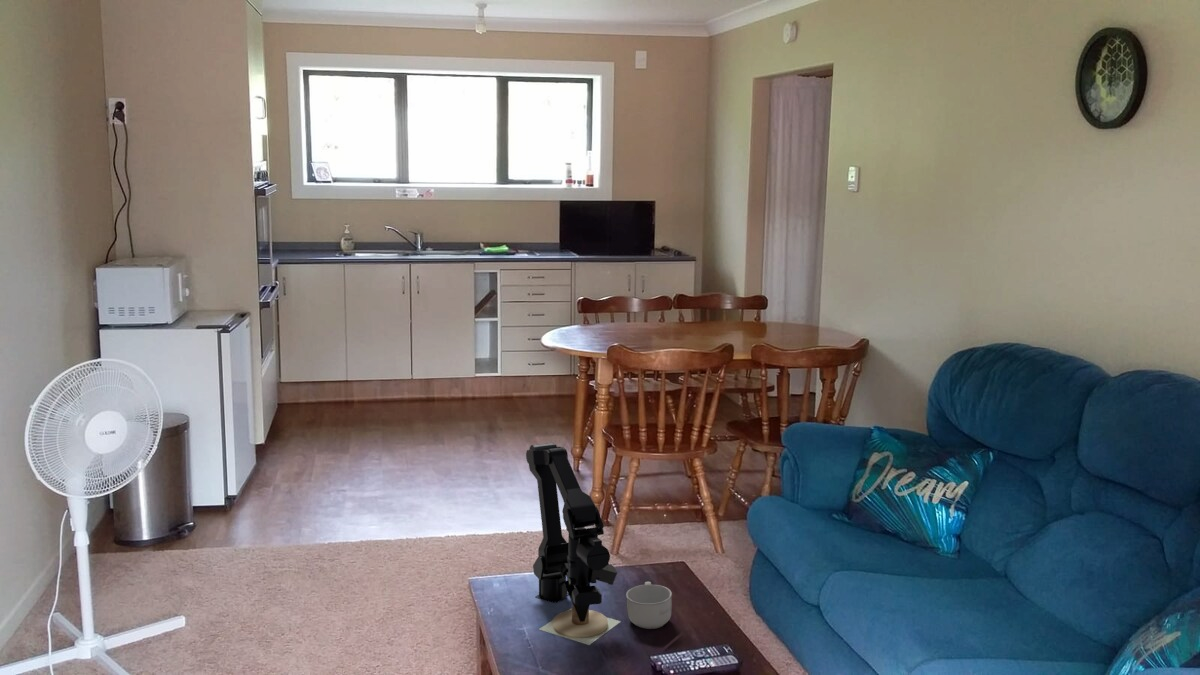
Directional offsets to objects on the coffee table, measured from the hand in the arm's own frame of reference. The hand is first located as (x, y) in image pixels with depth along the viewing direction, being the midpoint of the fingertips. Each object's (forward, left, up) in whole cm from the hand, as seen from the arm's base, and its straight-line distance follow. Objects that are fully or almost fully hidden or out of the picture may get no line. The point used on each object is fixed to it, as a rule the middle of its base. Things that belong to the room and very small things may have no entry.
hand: (580, 617), depth 231 cm
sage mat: (0, 0, -3) cm, 3 cm away
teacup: (+12, +12, -3) cm, 17 cm away
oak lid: (0, 0, -2) cm, 2 cm away
